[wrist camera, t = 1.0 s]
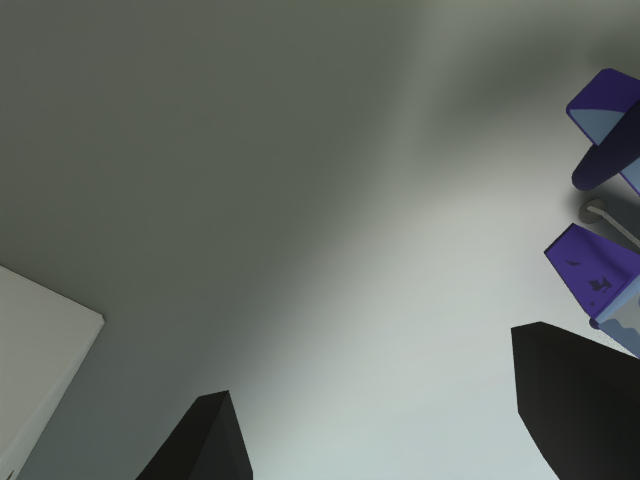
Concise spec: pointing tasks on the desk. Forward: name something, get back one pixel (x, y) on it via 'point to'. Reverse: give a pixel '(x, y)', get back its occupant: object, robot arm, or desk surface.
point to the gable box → (36, 361)
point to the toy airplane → (604, 209)
